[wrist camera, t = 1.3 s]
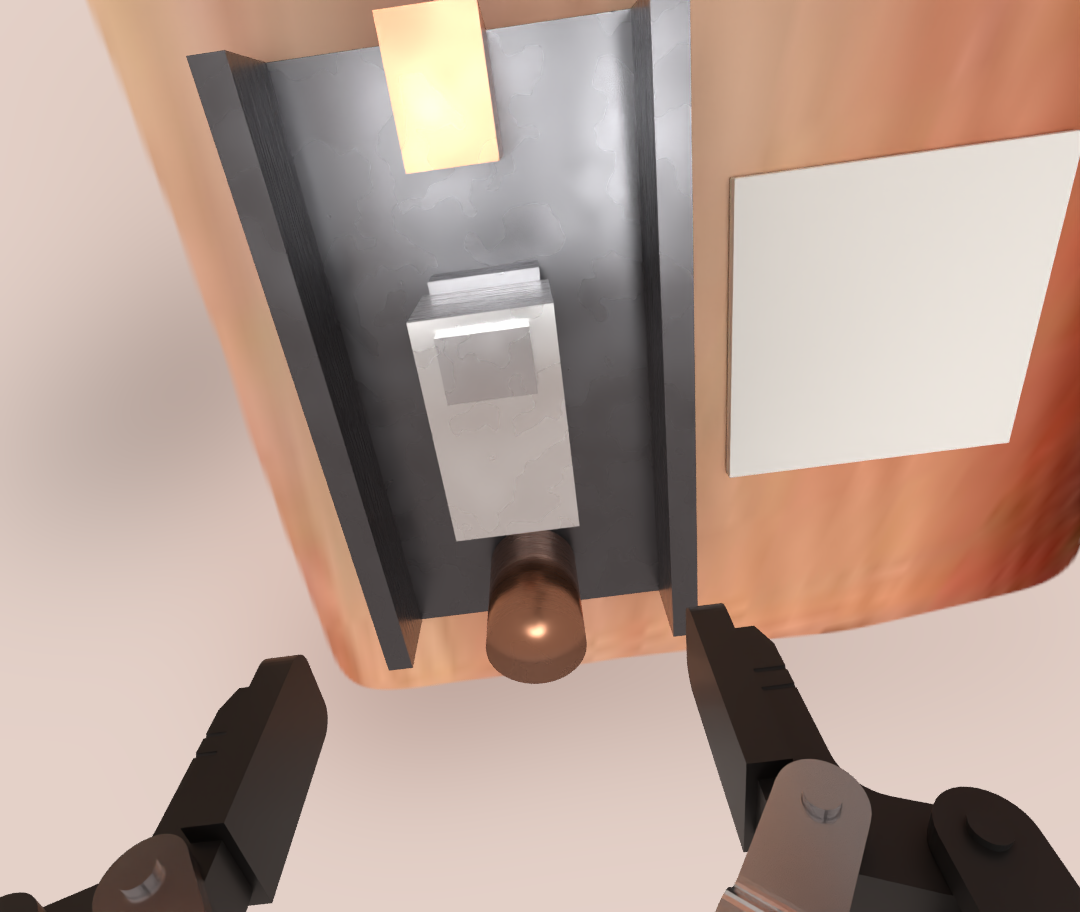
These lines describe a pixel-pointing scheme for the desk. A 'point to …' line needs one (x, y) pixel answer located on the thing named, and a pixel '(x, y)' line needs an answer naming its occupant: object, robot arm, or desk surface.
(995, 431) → the white mat
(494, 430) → the grey box
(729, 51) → the desk surface
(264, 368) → the desk surface
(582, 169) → the dark grey tray
